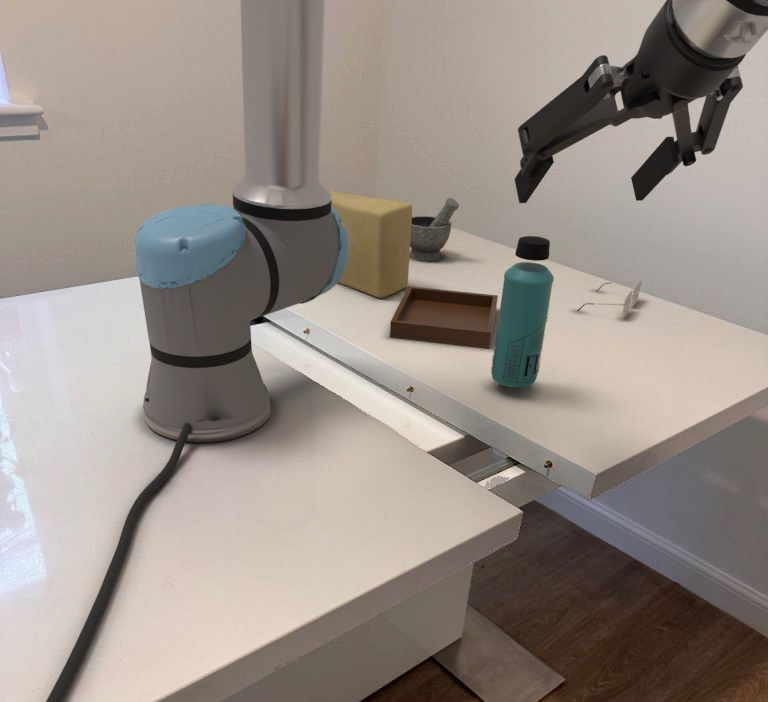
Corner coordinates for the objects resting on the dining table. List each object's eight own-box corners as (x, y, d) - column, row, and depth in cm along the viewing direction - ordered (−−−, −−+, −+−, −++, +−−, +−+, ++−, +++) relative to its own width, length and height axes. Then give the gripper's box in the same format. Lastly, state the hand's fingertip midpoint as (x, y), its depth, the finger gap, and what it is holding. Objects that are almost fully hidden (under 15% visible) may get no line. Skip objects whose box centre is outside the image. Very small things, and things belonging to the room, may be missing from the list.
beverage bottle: (521, 402, 96) (547, 249, 84) (478, 388, 99) (498, 238, 87) (543, 387, 100) (571, 238, 88) (502, 373, 103) (524, 228, 92)
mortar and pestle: (393, 257, 147) (396, 195, 140) (414, 247, 154) (418, 187, 147) (443, 267, 143) (448, 203, 136) (462, 256, 150) (468, 195, 143)
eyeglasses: (621, 321, 123) (625, 298, 120) (575, 315, 126) (578, 292, 124) (639, 299, 133) (643, 277, 130) (596, 294, 136) (598, 272, 134)
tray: (489, 348, 110) (491, 332, 109) (389, 337, 112) (390, 321, 111) (495, 310, 125) (498, 295, 123) (407, 300, 127) (408, 285, 125)
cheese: (283, 274, 135) (280, 189, 126) (315, 263, 142) (314, 181, 133) (380, 301, 126) (384, 210, 117) (409, 287, 132) (415, 200, 124)
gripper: (574, 60, 51) (475, 226, 72) (855, 69, 57) (689, 219, 78) (554, -31, 53) (462, 158, 73) (832, -13, 58) (674, 157, 79)
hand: (579, 190), depth 75 cm, fingers open, 13 cm apart
